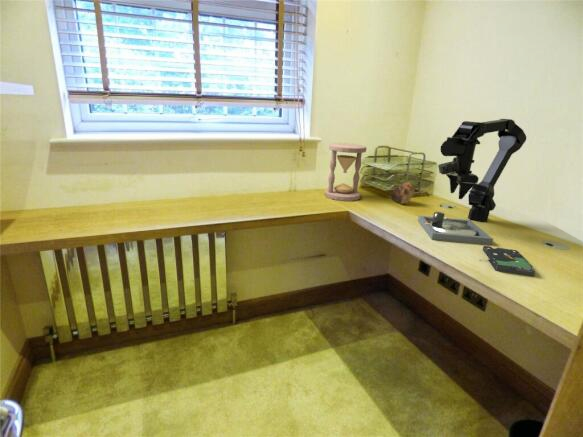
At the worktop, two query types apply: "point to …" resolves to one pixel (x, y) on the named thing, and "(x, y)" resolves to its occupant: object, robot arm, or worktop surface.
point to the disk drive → (508, 261)
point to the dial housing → (478, 239)
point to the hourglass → (343, 190)
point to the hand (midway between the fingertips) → (456, 195)
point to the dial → (450, 226)
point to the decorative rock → (403, 193)
